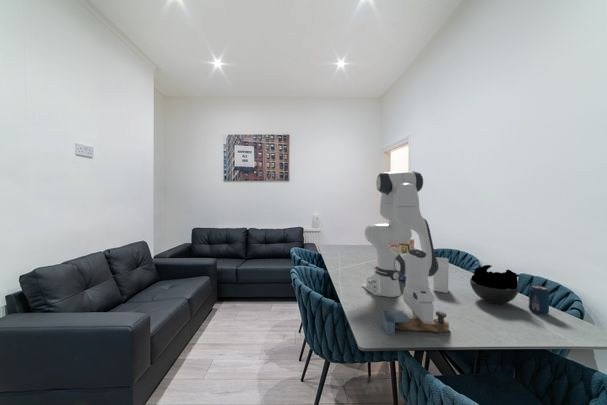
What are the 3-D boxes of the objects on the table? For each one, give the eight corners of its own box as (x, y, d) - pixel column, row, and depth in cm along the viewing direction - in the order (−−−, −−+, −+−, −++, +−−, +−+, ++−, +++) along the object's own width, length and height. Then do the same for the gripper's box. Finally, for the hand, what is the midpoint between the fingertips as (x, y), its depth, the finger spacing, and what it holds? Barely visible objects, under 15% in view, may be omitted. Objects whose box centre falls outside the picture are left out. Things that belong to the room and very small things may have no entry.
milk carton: (447, 293, 141) (448, 259, 141) (433, 290, 145) (433, 258, 144) (448, 289, 147) (448, 257, 147) (434, 287, 151) (434, 255, 151)
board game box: (414, 280, 162) (414, 239, 162) (410, 283, 158) (411, 240, 157) (384, 274, 176) (384, 235, 176) (380, 276, 172) (380, 236, 171)
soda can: (546, 311, 119) (546, 286, 119) (551, 317, 113) (551, 290, 113) (526, 307, 123) (527, 283, 122) (530, 313, 117) (531, 288, 116)
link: (445, 326, 104) (445, 310, 104) (451, 333, 99) (451, 317, 98) (393, 323, 107) (393, 307, 107) (396, 330, 101) (396, 314, 101)
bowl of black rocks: (461, 294, 140) (462, 260, 139) (498, 294, 139) (499, 261, 139) (486, 310, 120) (487, 271, 119) (529, 311, 119) (530, 271, 119)
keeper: (387, 334, 99) (387, 318, 99) (382, 325, 106) (382, 310, 106) (408, 334, 99) (409, 319, 99) (402, 325, 106) (402, 310, 106)
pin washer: (427, 328, 103) (427, 328, 103) (438, 324, 106) (438, 324, 106) (443, 337, 97) (443, 336, 97) (454, 332, 100) (454, 332, 100)
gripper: (399, 280, 116) (399, 310, 116) (420, 299, 95) (419, 335, 96) (413, 280, 116) (412, 310, 116) (437, 299, 95) (436, 335, 96)
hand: (416, 321), depth 106 cm, fingers closed
